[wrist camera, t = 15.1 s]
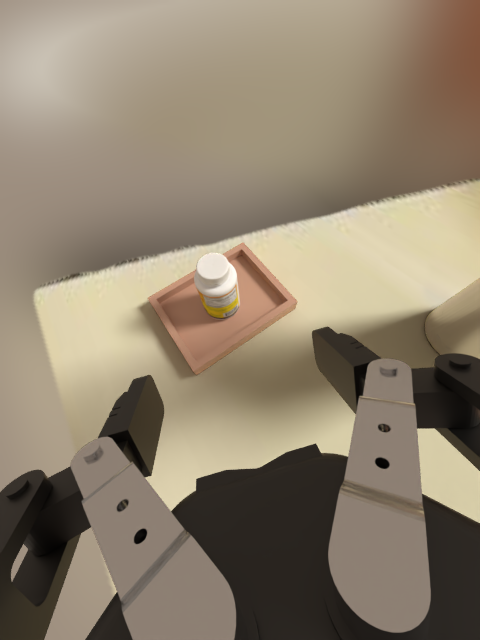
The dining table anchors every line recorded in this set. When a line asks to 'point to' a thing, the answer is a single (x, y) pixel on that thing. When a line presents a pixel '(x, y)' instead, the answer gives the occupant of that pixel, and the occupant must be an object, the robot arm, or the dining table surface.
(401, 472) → the robot arm
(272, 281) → the tray
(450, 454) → the dining table surface
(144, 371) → the dining table surface
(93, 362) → the dining table surface
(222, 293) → the supplement bottle
